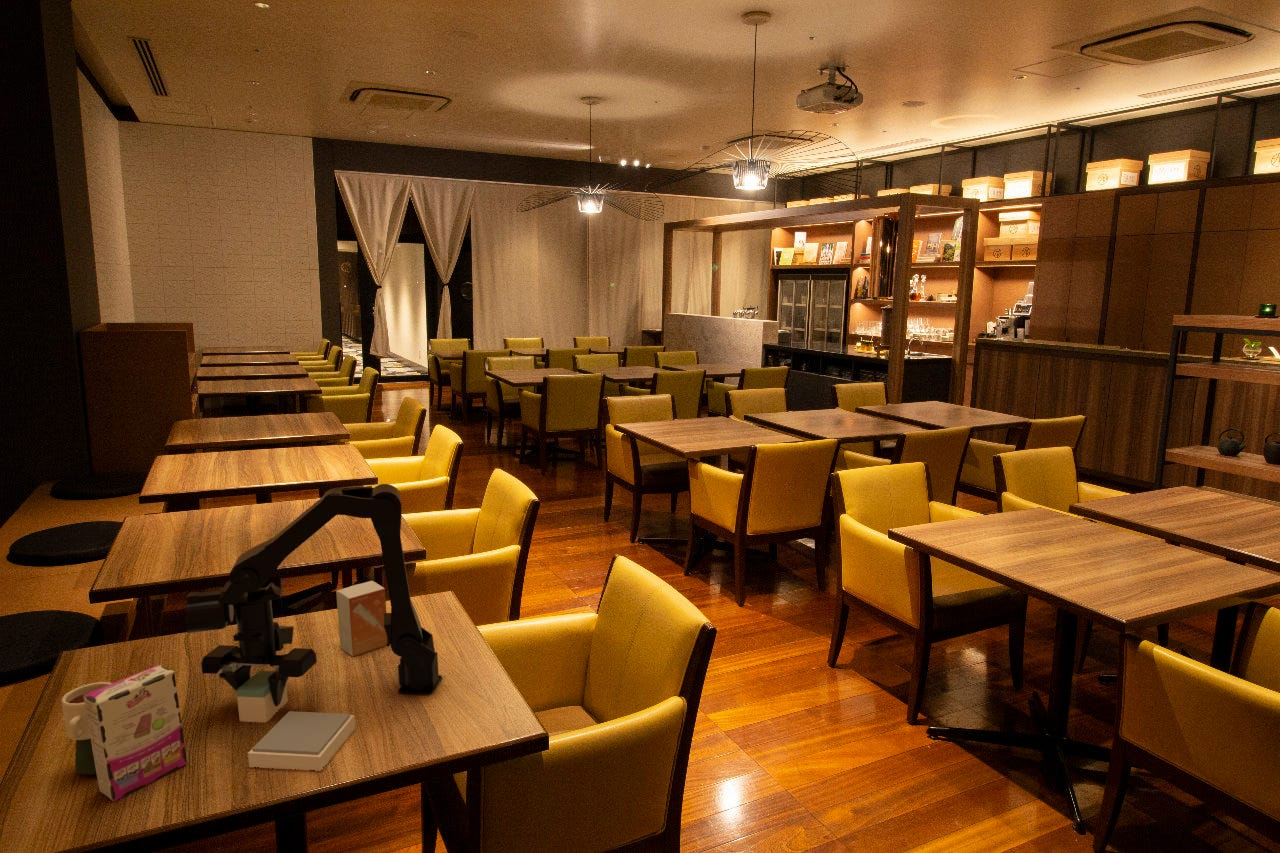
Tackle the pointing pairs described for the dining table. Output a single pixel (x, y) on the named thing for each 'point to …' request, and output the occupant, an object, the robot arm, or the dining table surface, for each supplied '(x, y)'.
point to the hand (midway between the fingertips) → (263, 704)
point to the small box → (361, 617)
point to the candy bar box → (135, 731)
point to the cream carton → (258, 699)
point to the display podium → (302, 741)
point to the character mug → (80, 726)
